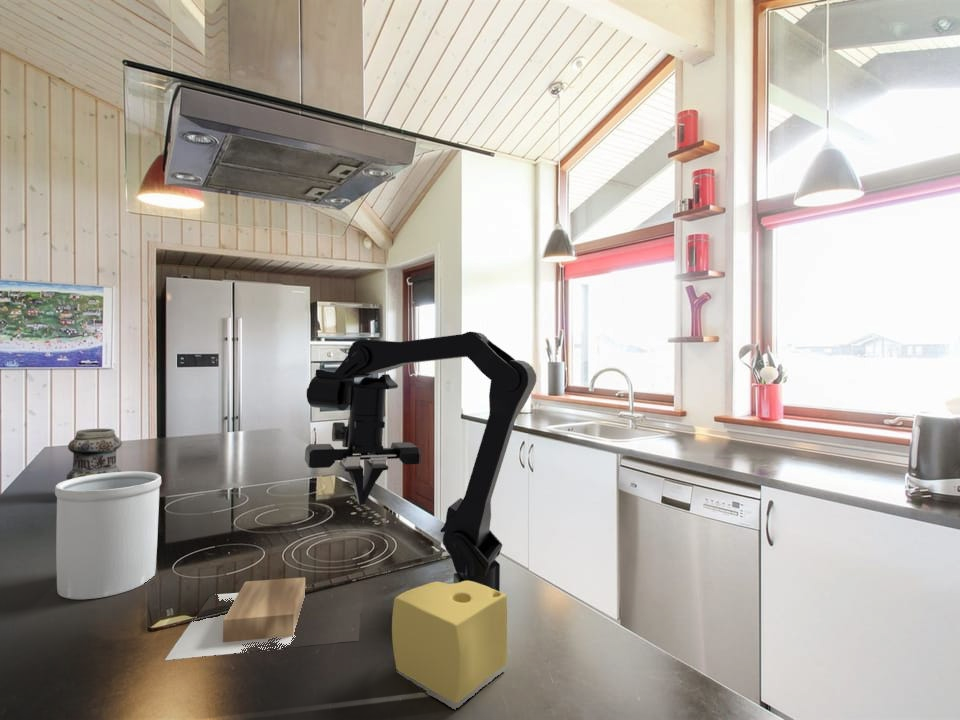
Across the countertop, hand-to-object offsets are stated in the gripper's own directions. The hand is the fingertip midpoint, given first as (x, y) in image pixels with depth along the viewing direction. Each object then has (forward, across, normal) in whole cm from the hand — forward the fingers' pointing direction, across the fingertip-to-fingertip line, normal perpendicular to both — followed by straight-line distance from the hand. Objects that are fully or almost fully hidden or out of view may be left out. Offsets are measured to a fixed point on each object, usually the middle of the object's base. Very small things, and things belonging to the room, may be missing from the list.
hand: (361, 504), depth 88 cm
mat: (+14, +13, +7) cm, 20 cm away
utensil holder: (+17, +38, -19) cm, 45 cm away
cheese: (+13, -5, +30) cm, 33 cm away
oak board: (+12, +10, +8) cm, 18 cm away
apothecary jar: (+20, +53, -85) cm, 102 cm away
